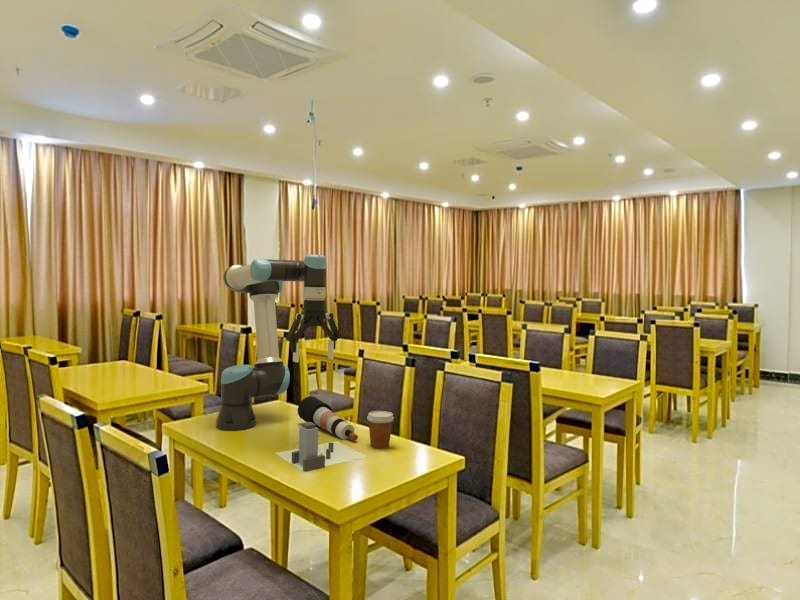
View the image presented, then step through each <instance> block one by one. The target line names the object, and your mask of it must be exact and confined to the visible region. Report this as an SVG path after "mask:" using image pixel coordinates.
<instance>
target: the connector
mask: <svg viewBox="0 0 800 600" xmlns="http://www.w3.org/2000/svg"><path fill="white" fill-rule="evenodd" d="M315 425H316V424H314V423H312V422H305V421H304V422H302V423H301V426H298V427H299V429H298V430H299V431H298V448H299V464H300V465H301V466H303V459H305V458H310V457H315V456H318V445H319V428H316V427H315Z"/></svg>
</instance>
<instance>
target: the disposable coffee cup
mask: <svg viewBox="0 0 800 600" xmlns="http://www.w3.org/2000/svg"><path fill="white" fill-rule="evenodd" d="M366 418H367V421H368V429H369V440H370V442H369V443H370V447H371V448H372V449H375V450H384V449H387V448H389V446H390V440H391V435H392V428H393V427H392V426H393V422H394V419H395V417H394V413H393V412H391V411H385V410H373V411H370V412H368V415H367V416H366Z"/></svg>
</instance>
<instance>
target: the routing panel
mask: <svg viewBox="0 0 800 600" xmlns="http://www.w3.org/2000/svg"><path fill="white" fill-rule="evenodd" d="M274 455H277V456H278V457H280V458H281V459H282V460H285V461H286V462H287V463H289V464H290V465H292V466H294V467H295V468H297V469H298V470H300V471H301V472H308V471H312V470H317V469H320V468H325V467H329V466H333V465H338V464H341V463H346V462H352V461H354V460H360V459H363V458H367V457H368V456H367V455H365V454H363V453H361V452H359V451H357V450H355V449H353V448H352V447H350V446H347V445H345V444H343V443H341V442H339V441H336V440H335V441H331V442H325V443H318V456H315V457H310V458H305V459H303V466H301V465H300V464H299V447H297V448H295V449H289V450H283V451H279V452H278V451H277V452H275V453H274Z"/></svg>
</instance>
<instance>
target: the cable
mask: <svg viewBox="0 0 800 600" xmlns="http://www.w3.org/2000/svg"><path fill="white" fill-rule="evenodd" d="M297 415H298V416H299V418H300V419H301V420H303V421H304V423H305V422H312V423H314V424H316V425H315V427H316V428H318V429H322V430H324V431H326V432H327V433H330V434H333V435H334V436H335V437H337V438H339V439H341V440H347V439H351V440H352V441H357V440H358V439H359V435H358V434H356V433H355V427H354V426H353V425H352V424H350V423H349V422H347V421H346V420H344V419H343V418H341V417H340V416H339V415H338V414H336V413H335V412H333V409H332V407H331V405H329V404H327V403H326V402H325V401H322V400H321V399H319V398H318V397H316V396H314V395H313V396H312V395H310V396H305V397H304V398H303V399H302V400H301V401H300V403H299V405H298V406H297Z"/></svg>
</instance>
